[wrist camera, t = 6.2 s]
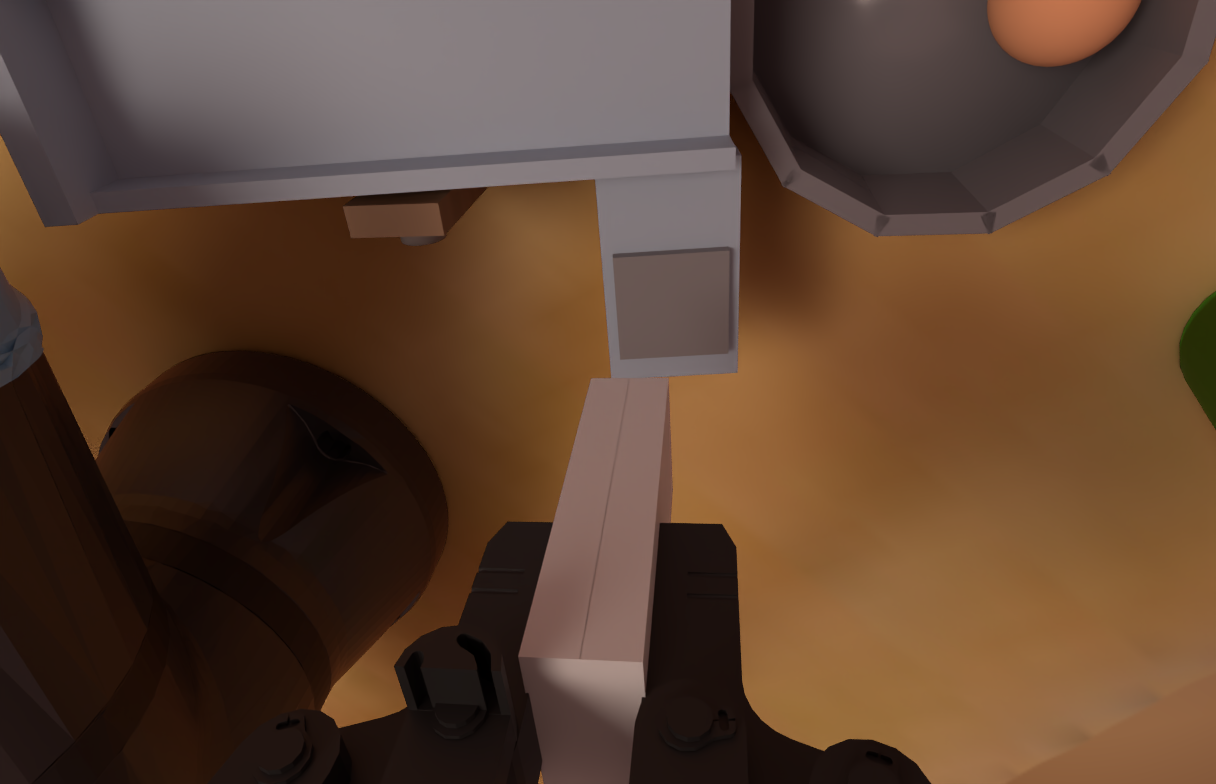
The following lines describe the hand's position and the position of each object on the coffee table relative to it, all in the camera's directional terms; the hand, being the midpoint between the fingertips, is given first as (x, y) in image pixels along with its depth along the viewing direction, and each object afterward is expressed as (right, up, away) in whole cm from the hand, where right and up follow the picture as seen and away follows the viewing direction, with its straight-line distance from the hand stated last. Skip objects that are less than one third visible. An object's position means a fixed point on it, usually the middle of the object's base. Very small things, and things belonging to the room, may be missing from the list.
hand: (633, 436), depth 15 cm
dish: (+9, +12, +7) cm, 16 cm away
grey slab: (-5, +6, +5) cm, 10 cm away
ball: (+11, +11, +4) cm, 16 cm away
